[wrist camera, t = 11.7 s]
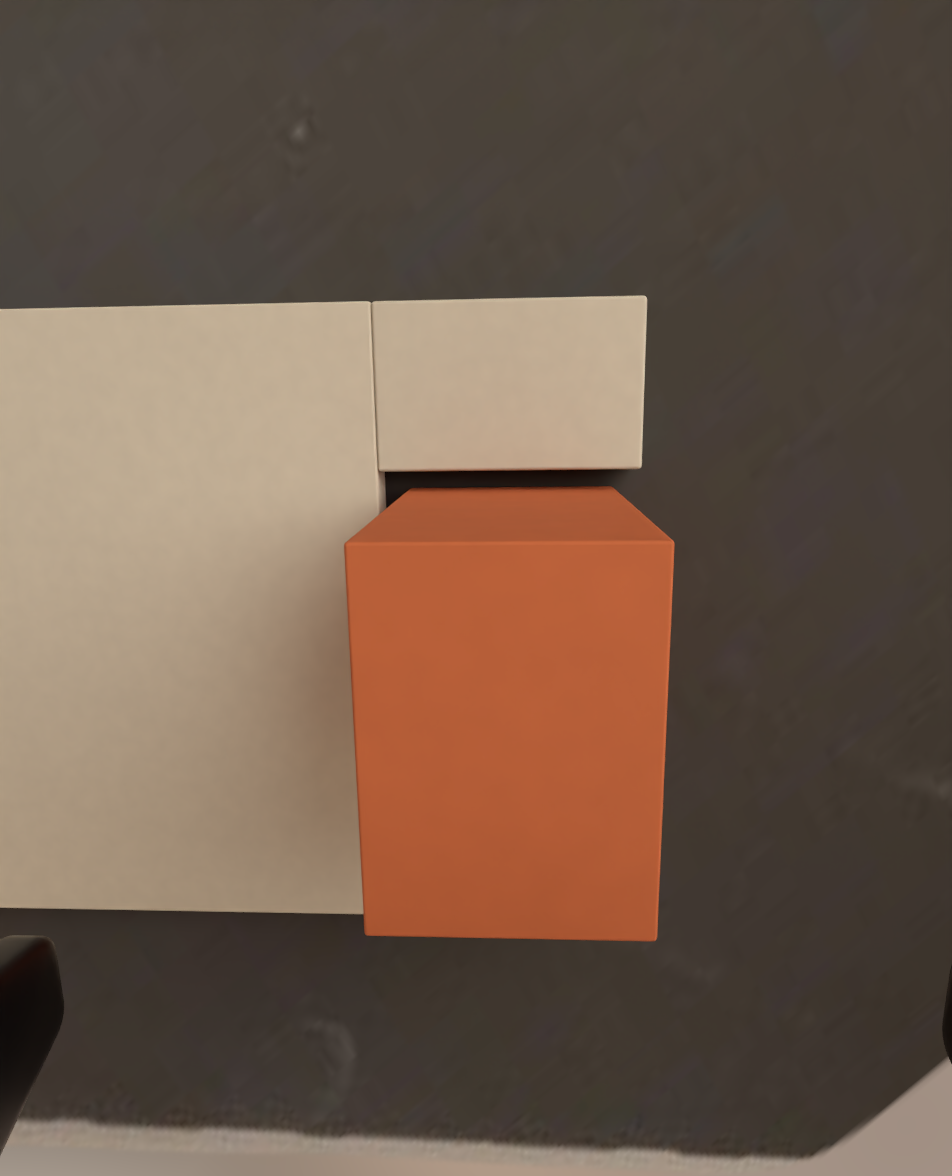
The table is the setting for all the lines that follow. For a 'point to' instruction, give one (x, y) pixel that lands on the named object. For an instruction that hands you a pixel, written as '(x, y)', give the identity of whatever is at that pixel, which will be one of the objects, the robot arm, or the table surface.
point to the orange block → (510, 713)
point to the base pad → (239, 566)
